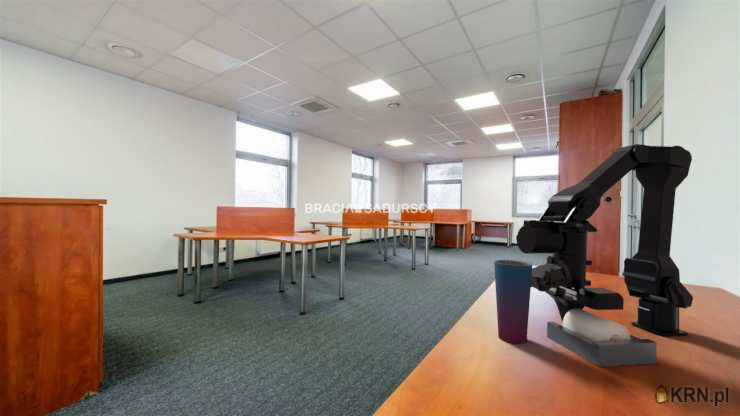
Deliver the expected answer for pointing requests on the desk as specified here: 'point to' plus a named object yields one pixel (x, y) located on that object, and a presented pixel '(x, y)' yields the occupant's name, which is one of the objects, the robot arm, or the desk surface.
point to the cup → (513, 299)
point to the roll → (593, 326)
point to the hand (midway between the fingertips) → (566, 327)
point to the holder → (605, 348)
